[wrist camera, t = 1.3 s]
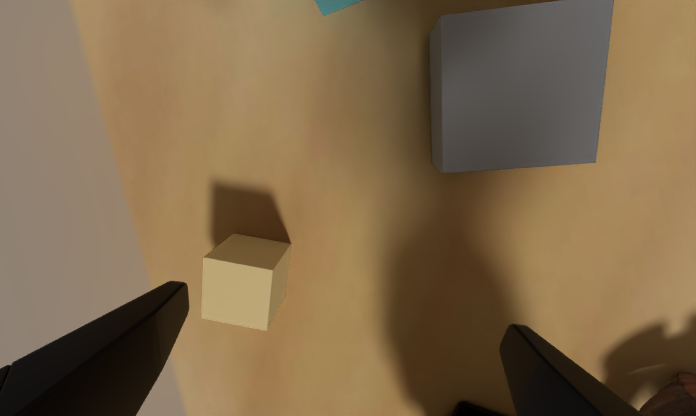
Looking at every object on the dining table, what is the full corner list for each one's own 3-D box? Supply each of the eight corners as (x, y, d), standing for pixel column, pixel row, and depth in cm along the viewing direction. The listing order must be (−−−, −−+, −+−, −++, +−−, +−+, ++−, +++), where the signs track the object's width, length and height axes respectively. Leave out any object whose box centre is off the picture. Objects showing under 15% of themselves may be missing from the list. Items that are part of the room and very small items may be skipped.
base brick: (556, 154, 18) (595, 162, 15) (431, 163, 19) (442, 173, 16) (567, 18, 17) (614, -7, 13) (429, 34, 17) (440, 15, 14)
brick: (291, 243, 22) (272, 270, 18) (285, 295, 23) (266, 331, 19) (234, 232, 22) (203, 257, 18) (231, 284, 23) (201, 318, 19)
